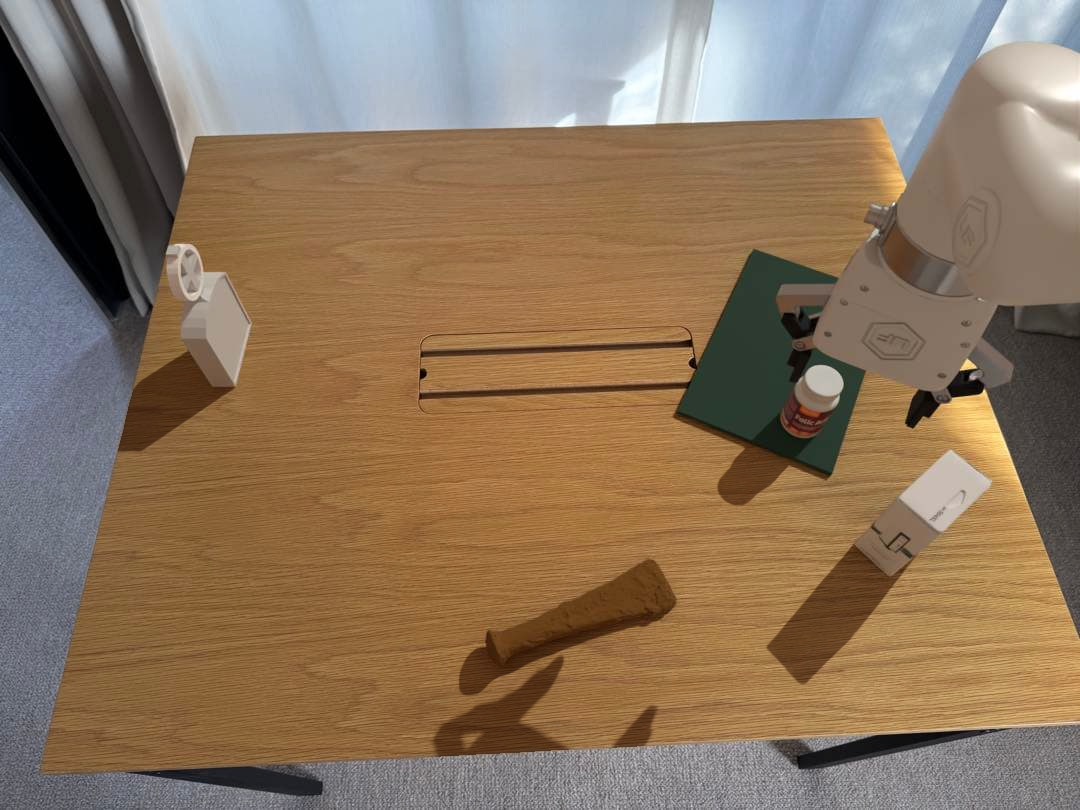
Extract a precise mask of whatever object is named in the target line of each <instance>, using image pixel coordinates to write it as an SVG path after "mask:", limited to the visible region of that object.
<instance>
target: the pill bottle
mask: <svg viewBox="0 0 1080 810" xmlns="http://www.w3.org/2000/svg"><path fill="white" fill-rule="evenodd" d="M842 389H843V379H842V377H841V375H840V374H839V373H838V372H837V371H836V370H835V369H833V368H831V367H829V366H825V365H816V366H813V367H811V368H809V369H808V370H807V372H806V373H805V375H804V376H803V377H802V378H800V379H799V381H798V383H796V385H795V387H794V389H793V391H792V392H791V394H790V396H789V398H788V400H787V402H786V404H785V406H784V407H783V409H782V412H781V416H780V418H781V423H782V425H783V427H784V428H785V430H786V431H787V432H789V433H790V434H791V435H793V436H796V437H799V438H811V437H813V436H815V435H817V434H818V433H819V432H820V430H821V429H822V427H823V426H824V424H825V423H826V421H827V420H828V418H829V417H830V415H831V414H832V412H833V410H834V409H835V407H836V406H837V404H838V402H839V394H840V393H841V391H842Z"/></svg>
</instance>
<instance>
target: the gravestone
mask: <svg viewBox="0 0 1080 810" xmlns="http://www.w3.org/2000/svg"><path fill="white" fill-rule="evenodd" d="M165 256H166V258H167V259H166V279H167V283H168V286H169V290H170V292H171V293H172V295H173V296H174V298H175V299H177V300H179V301H180V302H181V301H183V305H182V309H181V314H180V315H181V316H180V328H179V329H180V340H181V341H182V343H183V345H184V346H185V348H186V349H187V350H188V352H189V353H190V355H191V356H192V358H193V360H194V361H195V363H196V364H197V365H198V368H199V369H200V371H201V372H202V373H203V375H204V376H205V378H206V379H207V381H208V382H209V384H210V385H211V387H213V388H236V387H237V384H238V380H239V377H240V376H239V375H240V372H241V368H242V364H243V362H244V361H243V360H244V356H245V352H246V348H247V345H248V341H249V336H250V333H251V329H252V325H253V322H252V320H251V319H250V317H249V315H248V313H247V310H246V309H245V307H244V304H243V303H242V301H241V299H240V297H239V295H238V293H237V291H236V289H235V287H234V285H233V283H232V281H231V279H230V278H229V276H228V274H227V272H226V271H204V266H203V262H202V258H201V255H200V253H199V251H198V249H197V248H196V246H194V245H193V244H191V243H175V244H173V245H168V246H167V249H166V252H165Z"/></svg>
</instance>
